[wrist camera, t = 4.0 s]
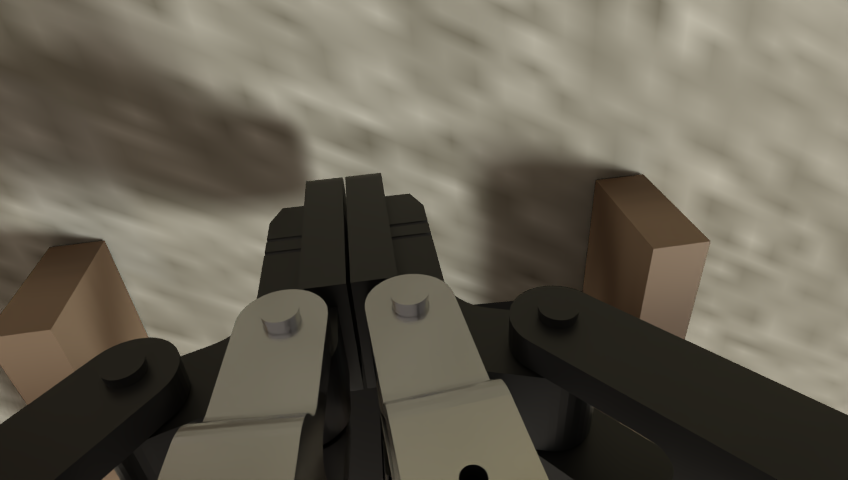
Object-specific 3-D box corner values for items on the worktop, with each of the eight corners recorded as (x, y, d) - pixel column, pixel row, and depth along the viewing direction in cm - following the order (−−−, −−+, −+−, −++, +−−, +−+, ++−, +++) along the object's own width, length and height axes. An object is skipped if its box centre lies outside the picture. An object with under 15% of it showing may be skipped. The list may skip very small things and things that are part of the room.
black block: (509, 503, 22) (545, 636, 19) (322, 526, 22) (320, 670, 18) (552, 244, 16) (625, 372, 12) (279, 262, 15) (260, 407, 11)
